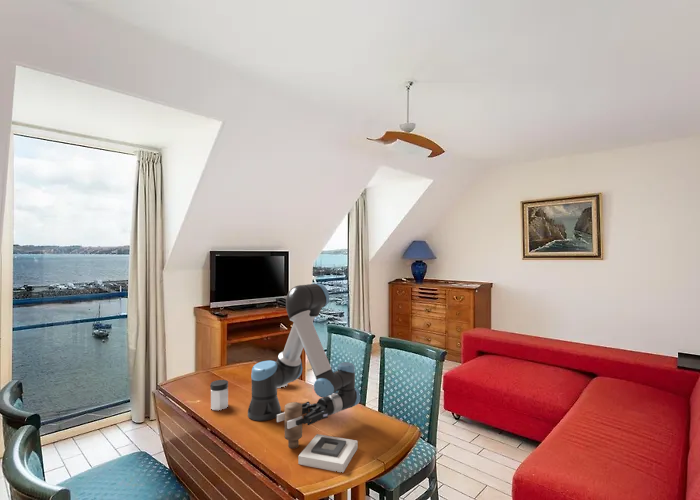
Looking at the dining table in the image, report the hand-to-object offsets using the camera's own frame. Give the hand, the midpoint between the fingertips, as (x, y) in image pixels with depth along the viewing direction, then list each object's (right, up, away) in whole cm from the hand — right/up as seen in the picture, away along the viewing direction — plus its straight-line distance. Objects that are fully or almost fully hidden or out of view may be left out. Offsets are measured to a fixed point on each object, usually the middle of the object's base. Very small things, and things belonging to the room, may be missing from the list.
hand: (282, 421), depth 147 cm
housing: (+18, -11, -4) cm, 22 cm away
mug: (-15, -11, +68) cm, 71 cm away
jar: (-38, -11, +40) cm, 56 cm away
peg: (+4, -11, +3) cm, 12 cm away
